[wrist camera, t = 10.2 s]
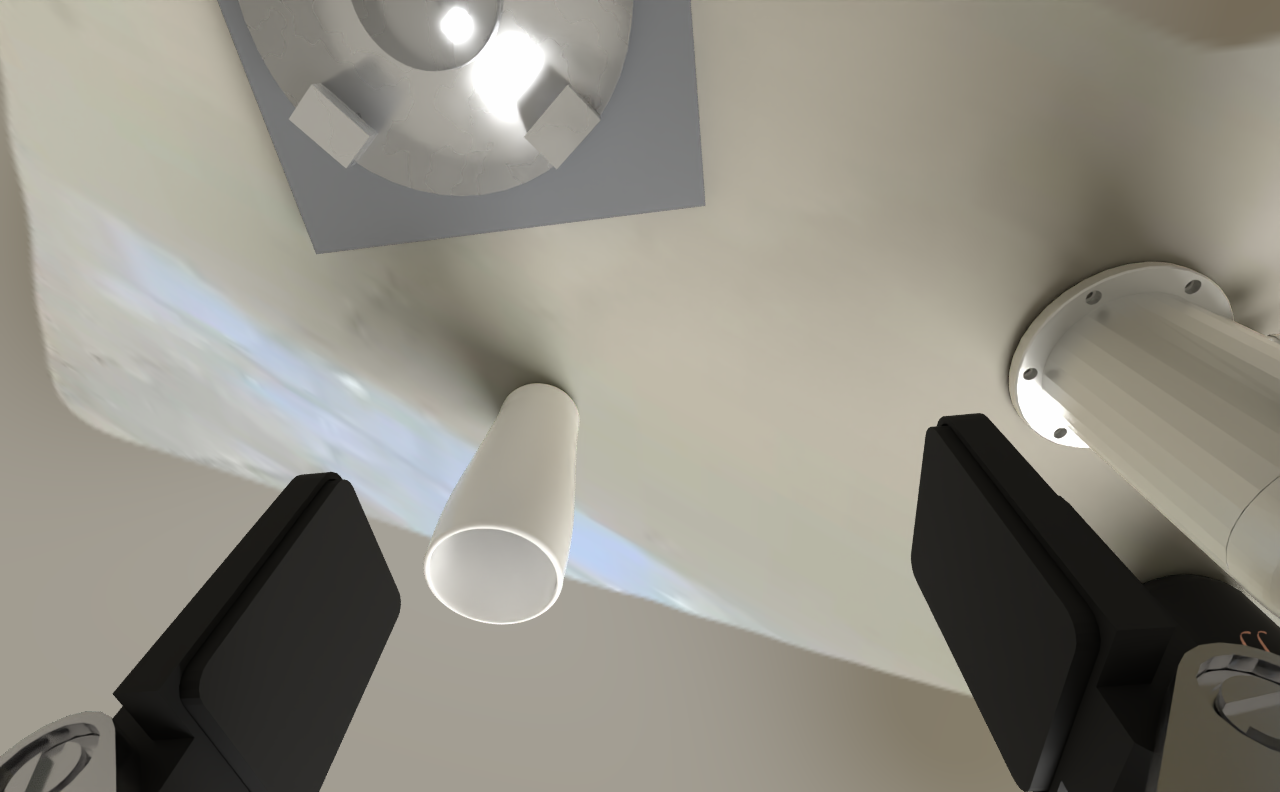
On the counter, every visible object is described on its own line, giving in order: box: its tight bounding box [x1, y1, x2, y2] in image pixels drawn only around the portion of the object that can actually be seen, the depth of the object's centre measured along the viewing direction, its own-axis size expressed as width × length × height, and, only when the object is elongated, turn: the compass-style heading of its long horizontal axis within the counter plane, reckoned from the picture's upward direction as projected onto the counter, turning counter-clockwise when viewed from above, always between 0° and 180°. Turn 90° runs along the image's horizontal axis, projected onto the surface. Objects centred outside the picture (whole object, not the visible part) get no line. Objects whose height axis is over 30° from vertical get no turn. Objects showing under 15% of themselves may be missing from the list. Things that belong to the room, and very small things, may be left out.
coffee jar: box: [1143, 574, 1280, 656], centre depth 43 cm, size 11×11×18 cm
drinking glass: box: [423, 383, 580, 624], centre depth 36 cm, size 7×7×15 cm
